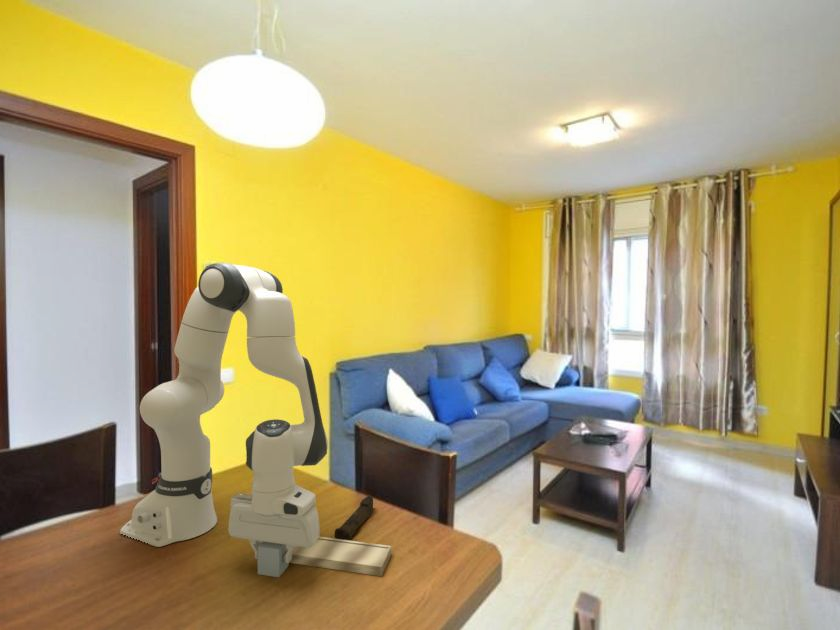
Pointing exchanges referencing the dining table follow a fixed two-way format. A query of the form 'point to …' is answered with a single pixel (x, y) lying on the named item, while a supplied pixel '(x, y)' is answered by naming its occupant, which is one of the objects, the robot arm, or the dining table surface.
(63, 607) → the dining table surface
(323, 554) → the board
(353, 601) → the dining table surface
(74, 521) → the dining table surface
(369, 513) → the rusty railroad spike
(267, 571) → the grey mallet
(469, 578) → the dining table surface
